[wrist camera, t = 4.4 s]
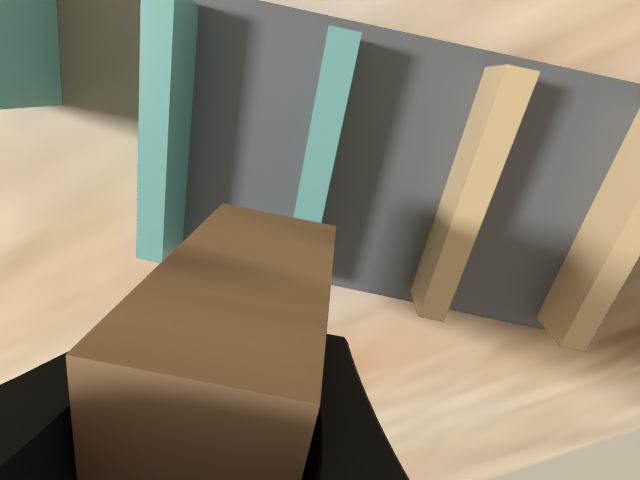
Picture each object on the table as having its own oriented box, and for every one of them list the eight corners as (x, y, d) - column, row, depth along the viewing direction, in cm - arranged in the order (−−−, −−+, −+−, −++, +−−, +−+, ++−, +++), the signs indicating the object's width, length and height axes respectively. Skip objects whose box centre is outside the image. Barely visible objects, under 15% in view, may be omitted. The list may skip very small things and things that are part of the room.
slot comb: (547, 319, 18) (583, 362, 15) (165, 239, 18) (130, 268, 15) (661, 93, 14) (739, 95, 11) (177, -14, 14) (134, -38, 11)
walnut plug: (304, 374, 12) (264, 627, 6) (208, 355, 12) (87, 593, 6) (336, 225, 10) (320, 405, 4) (222, 202, 10) (65, 354, 4)
